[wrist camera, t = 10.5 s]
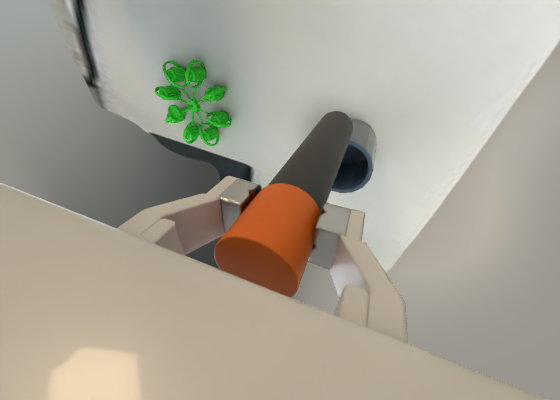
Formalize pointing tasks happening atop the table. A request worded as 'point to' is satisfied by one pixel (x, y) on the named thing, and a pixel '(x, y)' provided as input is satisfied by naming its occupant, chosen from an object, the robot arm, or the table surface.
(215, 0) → the table surface
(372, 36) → the table surface
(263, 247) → the marker
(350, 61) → the table surface
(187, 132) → the chandelier
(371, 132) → the pen cup
